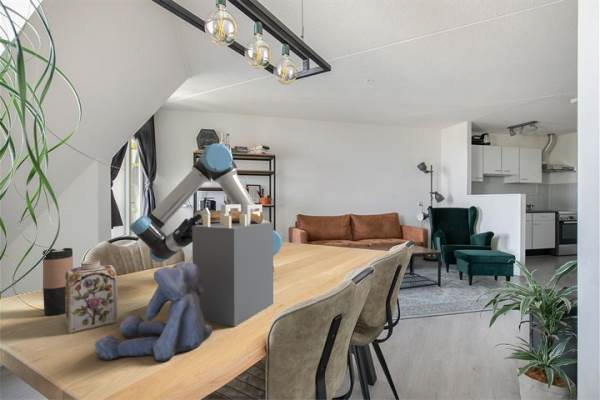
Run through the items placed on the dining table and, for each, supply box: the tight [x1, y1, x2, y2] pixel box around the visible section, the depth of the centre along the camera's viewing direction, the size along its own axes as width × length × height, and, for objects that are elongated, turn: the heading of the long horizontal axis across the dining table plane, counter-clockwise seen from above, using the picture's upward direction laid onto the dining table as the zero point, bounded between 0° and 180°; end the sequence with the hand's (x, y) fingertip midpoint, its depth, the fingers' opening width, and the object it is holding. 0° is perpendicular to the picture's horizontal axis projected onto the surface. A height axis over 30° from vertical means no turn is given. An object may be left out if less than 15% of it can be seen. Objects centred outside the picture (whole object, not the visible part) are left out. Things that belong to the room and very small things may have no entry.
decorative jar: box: [65, 260, 119, 334], centre depth 90 cm, size 12×12×18 cm
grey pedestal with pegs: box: [191, 204, 274, 328], centre depth 100 cm, size 21×16×34 cm
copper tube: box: [193, 209, 264, 224], centre depth 107 cm, size 26×4×4 cm
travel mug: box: [42, 247, 74, 317], centre depth 99 cm, size 8×8×20 cm
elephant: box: [94, 260, 213, 362], centre depth 78 cm, size 21×25×21 cm
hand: (219, 210), depth 110 cm, fingers open, 10 cm apart
